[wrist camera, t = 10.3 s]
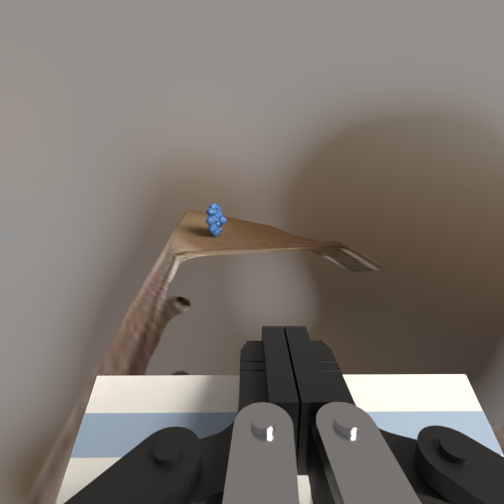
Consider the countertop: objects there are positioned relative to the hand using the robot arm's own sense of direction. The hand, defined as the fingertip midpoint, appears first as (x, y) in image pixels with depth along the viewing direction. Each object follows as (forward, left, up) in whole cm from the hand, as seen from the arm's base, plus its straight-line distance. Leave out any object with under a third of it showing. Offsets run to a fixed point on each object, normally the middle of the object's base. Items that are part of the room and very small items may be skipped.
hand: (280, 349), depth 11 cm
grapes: (-77, -58, -19) cm, 99 cm away
